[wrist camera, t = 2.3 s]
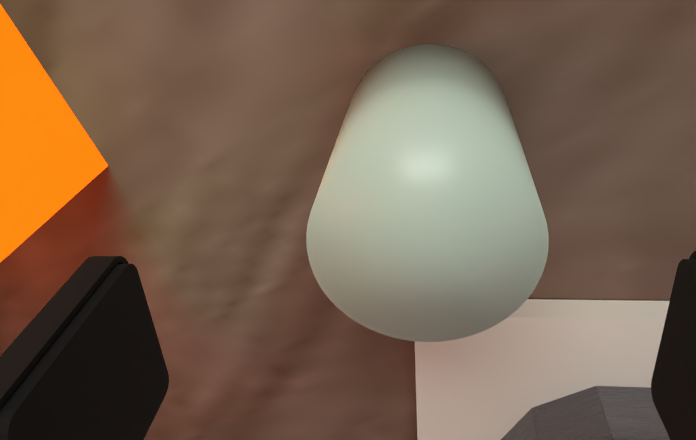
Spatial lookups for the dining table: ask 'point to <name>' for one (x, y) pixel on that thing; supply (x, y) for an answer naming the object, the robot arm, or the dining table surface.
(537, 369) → the mounting board
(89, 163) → the orange juice
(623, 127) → the dining table surface
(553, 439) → the faceted grey ring
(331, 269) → the egg
